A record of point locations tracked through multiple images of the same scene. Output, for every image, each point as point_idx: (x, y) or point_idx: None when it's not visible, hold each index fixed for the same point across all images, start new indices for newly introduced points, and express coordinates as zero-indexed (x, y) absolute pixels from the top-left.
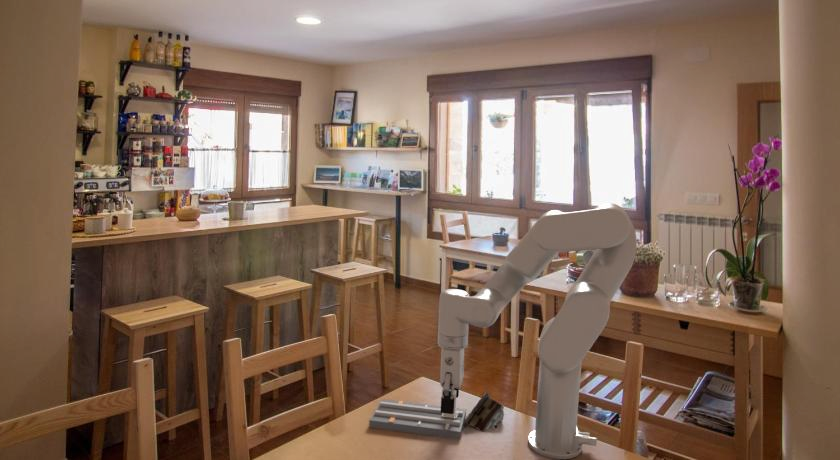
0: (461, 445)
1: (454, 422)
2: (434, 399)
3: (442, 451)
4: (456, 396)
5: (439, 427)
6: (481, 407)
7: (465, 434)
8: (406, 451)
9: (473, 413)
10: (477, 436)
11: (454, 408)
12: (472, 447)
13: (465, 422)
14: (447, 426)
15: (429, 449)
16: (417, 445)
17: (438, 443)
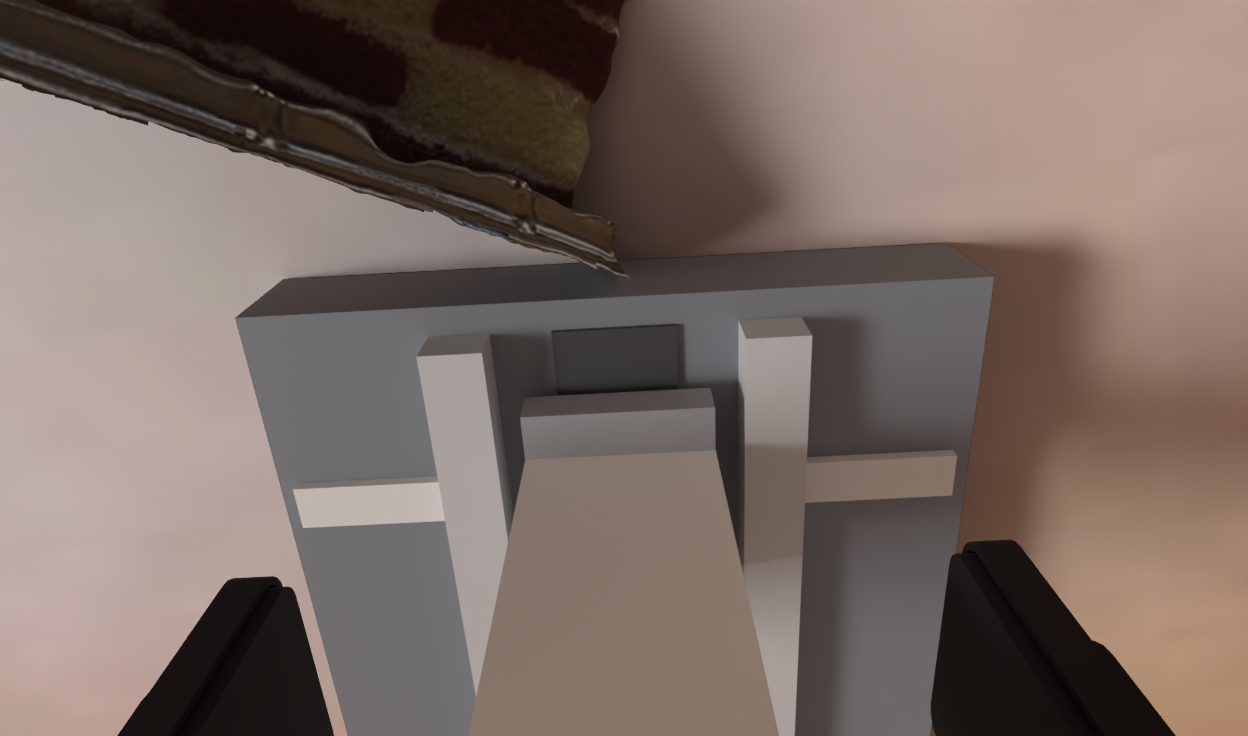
0: (1091, 198)
1: (806, 412)
2: (53, 695)
3: (1244, 392)
4: (285, 612)
5: (911, 555)
6: (194, 36)
7: (791, 195)
8: (1242, 697)
9: (450, 168)
10: (809, 8)
11: (706, 541)
12: (1136, 35)
13: (610, 252)
14: (890, 474)
15: (1201, 524)
16: (1124, 639)
17: (1065, 465)
